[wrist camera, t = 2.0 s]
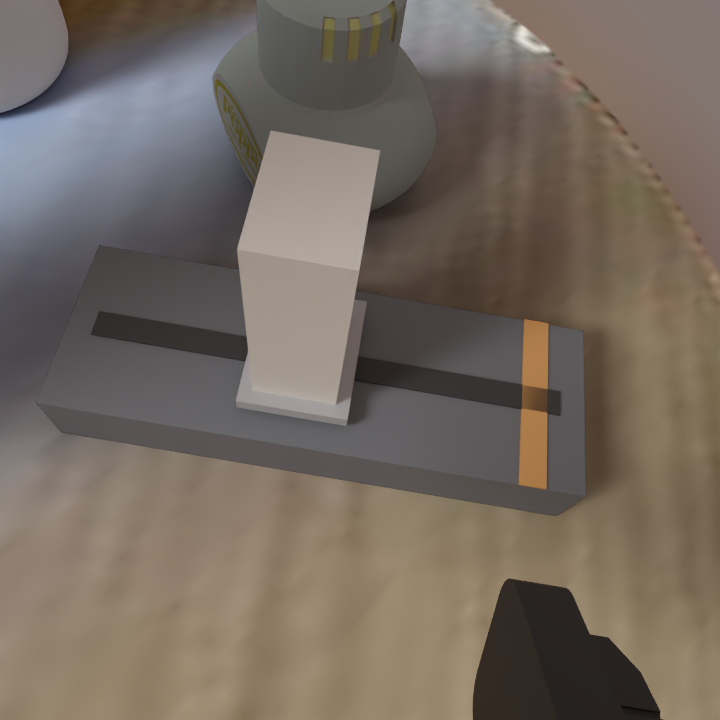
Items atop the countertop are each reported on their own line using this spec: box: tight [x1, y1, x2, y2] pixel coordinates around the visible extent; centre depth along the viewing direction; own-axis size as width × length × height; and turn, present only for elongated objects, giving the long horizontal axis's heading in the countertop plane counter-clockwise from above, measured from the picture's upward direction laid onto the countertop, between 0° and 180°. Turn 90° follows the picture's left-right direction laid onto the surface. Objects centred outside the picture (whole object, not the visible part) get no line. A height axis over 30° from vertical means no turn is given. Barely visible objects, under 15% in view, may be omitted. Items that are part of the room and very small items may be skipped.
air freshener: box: [213, 0, 437, 211], centre depth 29 cm, size 11×8×10 cm
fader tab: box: [236, 131, 380, 426], centre depth 21 cm, size 4×5×9 cm
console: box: [36, 245, 586, 516], centre depth 26 cm, size 20×7×3 cm, turn 82°
